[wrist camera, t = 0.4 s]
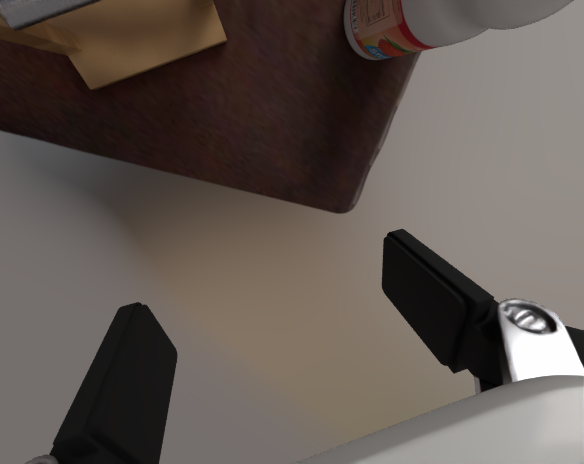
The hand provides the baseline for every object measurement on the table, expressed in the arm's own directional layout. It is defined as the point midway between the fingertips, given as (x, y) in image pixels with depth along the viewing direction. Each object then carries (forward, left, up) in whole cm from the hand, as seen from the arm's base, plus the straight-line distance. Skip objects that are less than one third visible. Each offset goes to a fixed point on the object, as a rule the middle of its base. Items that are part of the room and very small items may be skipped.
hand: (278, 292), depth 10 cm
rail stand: (-15, -7, -29) cm, 34 cm away
